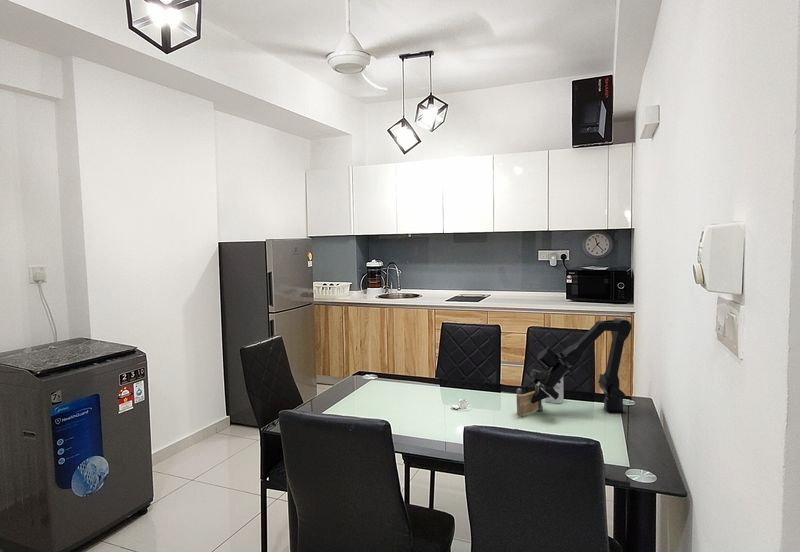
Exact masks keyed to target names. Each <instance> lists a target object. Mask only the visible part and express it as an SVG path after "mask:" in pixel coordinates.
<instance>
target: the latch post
mask: <svg viewBox="0 0 800 552" xmlns="http://www.w3.org/2000/svg"><path fill="white" fill-rule="evenodd" d="M518 394H521V395H523V389H522V388H520V387H518V388H516V396H517V395H518Z"/></svg>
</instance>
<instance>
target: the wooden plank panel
mask: <svg viewBox="0 0 800 552" xmlns="http://www.w3.org/2000/svg"><path fill="white" fill-rule="evenodd" d="M534 392H535V390H533V391H530V392H527V393H526V392H525V393H524V394H523V393H522V395H521V394H518V395H517V394H516V416H519V417H523V416H525V415H528V414H531V413H534V412H535V411H536V412H538V411H537V410H538V406H543V405H542V402H543V399H542V400H540V401H538V402H536V403H531V400H532V397H533V395H534Z"/></svg>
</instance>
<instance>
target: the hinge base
mask: <svg viewBox="0 0 800 552" xmlns="http://www.w3.org/2000/svg"><path fill="white" fill-rule="evenodd" d="M536 412H540V413H541V412H544V406H543V405H542V406H538V410H537V411H536Z"/></svg>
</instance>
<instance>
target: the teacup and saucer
mask: <svg viewBox="0 0 800 552" xmlns="http://www.w3.org/2000/svg"><path fill="white" fill-rule="evenodd" d="M458 402H459V405H460V407H461V408H465V407H466V408H468V407H467V406H470V405H469V403H470V402H469V401H468V400H466V399H465V398H461V399H459V401H458ZM459 405H458V404H452V405H450V407H451V409H453V408H459ZM466 405H467V406H466ZM461 408H459V409H461ZM466 408H465V409H466Z"/></svg>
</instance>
